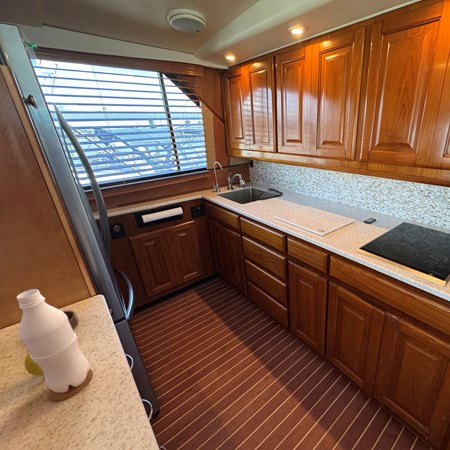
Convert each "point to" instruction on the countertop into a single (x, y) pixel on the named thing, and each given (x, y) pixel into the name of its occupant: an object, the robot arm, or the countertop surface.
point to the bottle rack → (72, 318)
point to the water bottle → (51, 342)
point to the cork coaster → (70, 389)
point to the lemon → (32, 366)
